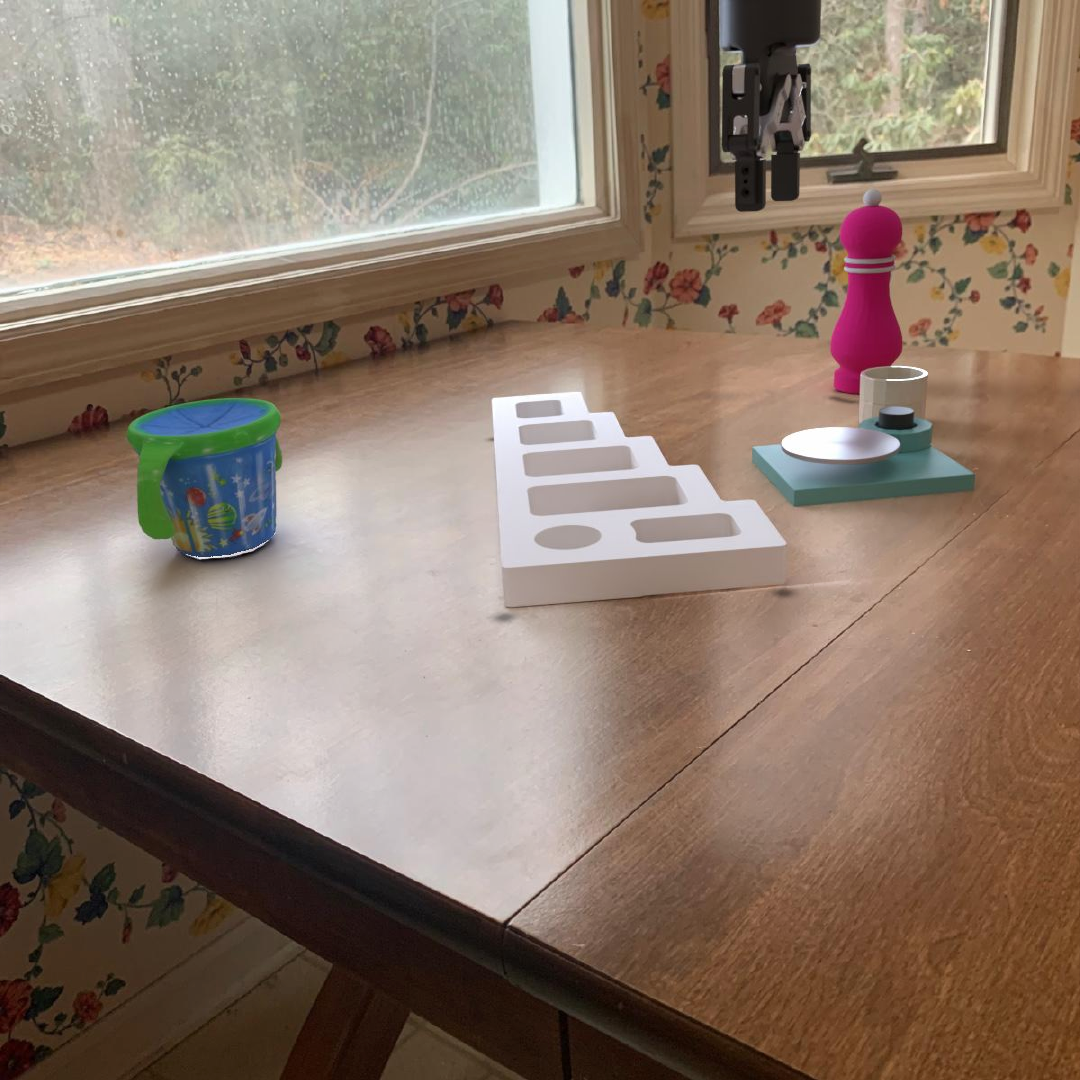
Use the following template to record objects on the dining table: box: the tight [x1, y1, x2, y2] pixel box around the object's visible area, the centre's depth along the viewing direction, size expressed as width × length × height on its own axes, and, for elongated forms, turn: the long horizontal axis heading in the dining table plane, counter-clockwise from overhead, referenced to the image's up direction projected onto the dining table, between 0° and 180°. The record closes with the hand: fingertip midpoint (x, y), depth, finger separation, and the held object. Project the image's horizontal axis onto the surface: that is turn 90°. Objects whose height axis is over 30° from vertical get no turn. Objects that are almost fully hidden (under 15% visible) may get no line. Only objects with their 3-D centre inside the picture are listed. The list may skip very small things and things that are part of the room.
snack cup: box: [125, 397, 283, 560], centre depth 81 cm, size 16×10×10 cm
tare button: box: [878, 406, 914, 430], centre depth 90 cm, size 3×3×2 cm
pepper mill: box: [829, 188, 903, 395], centre depth 111 cm, size 7×7×20 cm
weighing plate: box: [780, 426, 900, 465], centre depth 86 cm, size 9×9×1 cm
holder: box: [491, 391, 787, 608], centre depth 89 cm, size 45×18×3 cm, turn 3°
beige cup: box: [858, 365, 929, 424], centre depth 100 cm, size 6×6×5 cm
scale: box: [751, 417, 976, 508], centre depth 88 cm, size 14×12×3 cm
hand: (768, 205), depth 87 cm, fingers open, 8 cm apart
